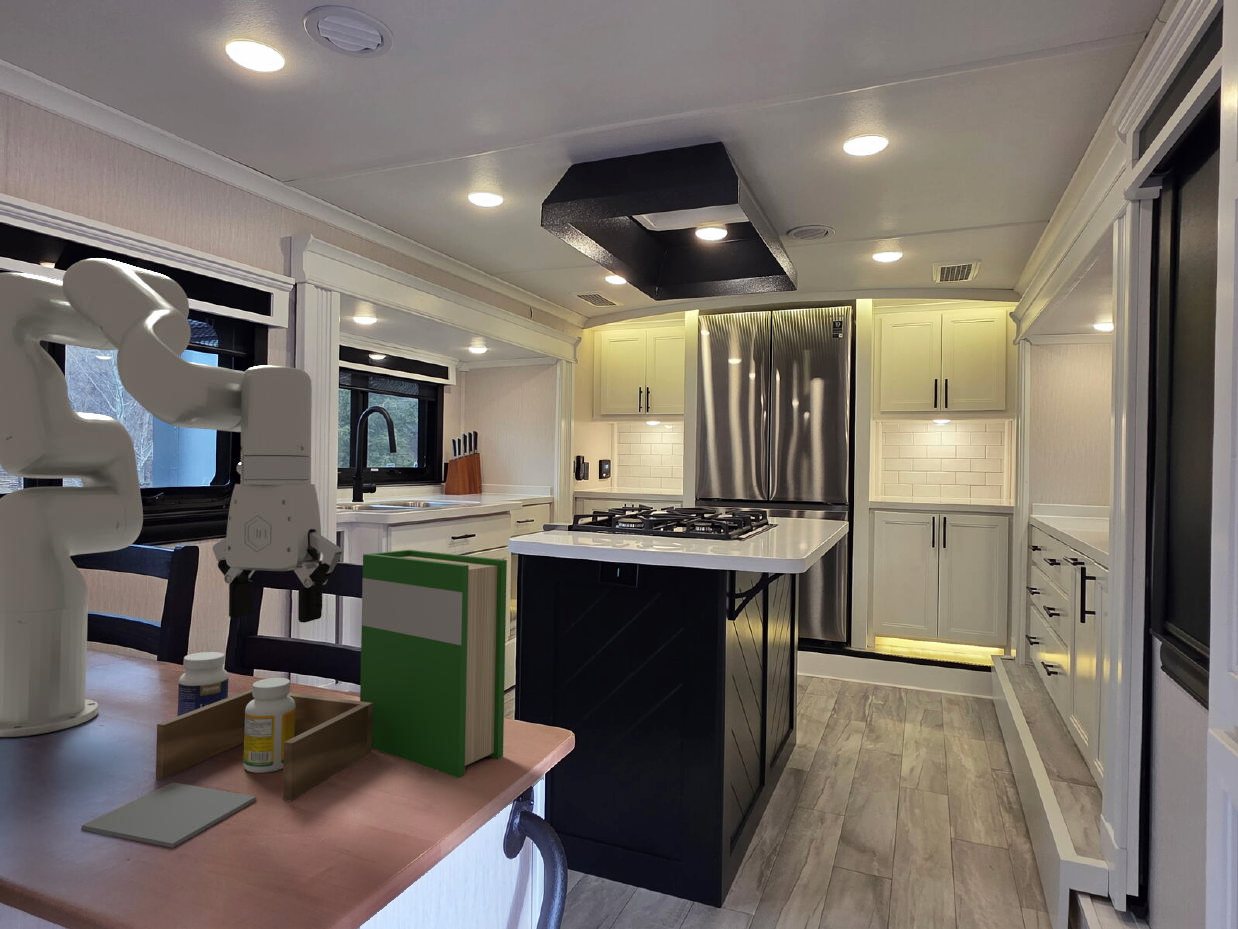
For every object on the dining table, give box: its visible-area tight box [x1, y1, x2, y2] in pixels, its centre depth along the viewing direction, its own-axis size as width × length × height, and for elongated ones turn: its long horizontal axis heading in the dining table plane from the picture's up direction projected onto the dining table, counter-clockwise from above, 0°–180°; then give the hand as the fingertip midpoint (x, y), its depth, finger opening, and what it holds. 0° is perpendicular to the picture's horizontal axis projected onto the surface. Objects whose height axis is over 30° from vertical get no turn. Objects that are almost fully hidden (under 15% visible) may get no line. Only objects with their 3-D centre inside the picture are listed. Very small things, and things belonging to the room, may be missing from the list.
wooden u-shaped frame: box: [155, 688, 373, 802], centre depth 84 cm, size 18×14×6 cm
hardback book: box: [359, 549, 508, 778], centre depth 90 cm, size 18×7×24 cm, turn 57°
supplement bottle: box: [242, 677, 296, 774], centre depth 84 cm, size 5×5×10 cm
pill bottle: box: [176, 651, 229, 717], centre depth 95 cm, size 6×6×10 cm
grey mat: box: [80, 782, 257, 849], centre depth 72 cm, size 11×10×1 cm
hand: (275, 618), depth 84 cm, fingers open, 9 cm apart
